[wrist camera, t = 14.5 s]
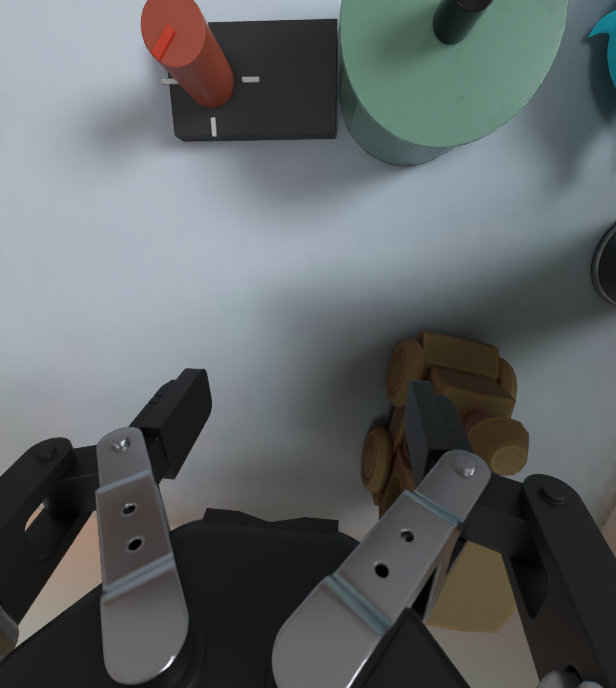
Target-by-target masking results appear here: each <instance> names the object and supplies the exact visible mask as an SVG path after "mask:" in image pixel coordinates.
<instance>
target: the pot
mask: <svg viewBox="0 0 616 688" xmlns="http://www.w3.org/2000/svg"><path fill="white" fill-rule="evenodd" d="M339 103H340V106H341V110H342V114H343V118H344V120H345V123H346V125H347V127H348V129H349V131H350V133H351V134H352V136H353V138H354V139H355V140H356V141H357V143H358V144H359V145H360V146H361V147H362V148H363V149H364V150H365V151H366V152H368V153H369V154H370V155H372V156H374V157H375V158H377V159H379V160H381V161H384V162H387V163H391V164H394V165H415V164H423V163H425V162H427V161H429V160H432V159H434V158H436V157H438V156H440V155H442V154H445V153H447V152H448V151H450V150H452V149H453V148H455V147H452V148H442V149H433V148H423V147H418V146H413V145H410V144H407V143H405V142H402V141H400V140H398V139H396V138H394V137H392V136H391V135H389V134H387V133H386V132H385V131H384V130H382V129H381V128H380V127H378V126H377V125H376V124H375V123H374V122H373V121H372V120H371V119H370V118H369V117H368V115H367V114H366V113H365V111H364V110H363V109H362V107H361V106H360V104H359V103H358V101H357V99H356V97H355V95H354V94H353V92H352V89H351V87H350V84H349V82H348V79H347V77H346V73H345V69H344V66H343V62H342V55H341V60H340V67H339Z"/></svg>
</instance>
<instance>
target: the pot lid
mask: <svg viewBox="0 0 616 688" xmlns="http://www.w3.org/2000/svg"><path fill="white" fill-rule="evenodd" d="M568 1H569V0H342V4H341V11H340V26H339V33H340V49H341V55H342V62H343V66H344V69H345V73H346V77H347V79H348V82H349V84H350V87H351V89H352V92H353V94H354V95H355V97H356V99H357V101H358V103H359V104H360V106H361V107H362V109H363V110H364V111H365V113H366V114H367V115H368V117H369V118H370V119H371V120H372V121H373V122H374V123H375V124H376V125H377V126H378V127H380V128H381V129H382V130H384V131H385V132H386V133H387V134H389V135H391V136H392V137H394V138H396V139H398V140H400V141H402V142H405V143H407V144H410V145H413V146H418V147H423V148H433V149H442V148H452V147H457V146H461V145H465V144H468V143H471V142H473V141H476V140H479V139H480V138H482V137H484V136H486V135H488V134H490V133H492V132H494V131H495V130H497V129H498V128H499V127H501V126H502V125H504V124H505V123H507V122H508V121H509V120H510V119H511V118H512V117H513V116H515V115H516V114H517V113H518V112H519V111H520V110H521V109H522V108H523V107H524V106H525V104H526V103H527V102H528V101H529V100H530V99H531V98H532V96H533V95H534V93H535V92H536V91H537V89H538V88H539V87H540V85H541V83H542V82H543V80H544V78H545V77H546V75H547V73H548V71H549V69H550V67H551V65H552V63H553V61H554V58H555V56H556V54H557V51H558V48H559V45H560V42H561V39H562V36H563V32H564V27H565V23H566V18H567V10H568Z"/></svg>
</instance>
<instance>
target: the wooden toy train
mask: <svg viewBox="0 0 616 688" xmlns="http://www.w3.org/2000/svg"><path fill="white" fill-rule="evenodd" d="M410 380H421V381H431V383H432V386H433V389H434V391H435V394H436V395H446V396H447V397H448V398H449V399H450V400H451V401H452V402H453V403H454V404H455V407H456V409H457V412H458V416H459V417H460V419H461V422H462V424H463V427H464V429H465V432H466V434H467V437H468V439H469V442H470V444H471V447H472V449H473V452H474V454H475V455H477V456H479V457H480V458H482V459H483V460H484V461H485V462H486V463H487V465H488V466H489V468H490V470H491V472H493V473H495V474H497V475H503V476H506V475H514V474H515V473H517V472H519V471H520V470H522V469H523V467H524V466H525V464H526V463H527V456H528V449H529V433H528V432H527V431H526V429H525V428H524V427H523V425H522V424H521V422H519V421H516V420H513V419H511V415H512V412H513V409H514V405H515V402H516V400H515V399H516V393H517V381H516V376H515V373H514V371H513V368H512V367H511V365H510V364H509V363H508V362H507V361H506V360H504V359H503V358H501V357H499V349H498V348H497V347H495V346H494V345H490V344H486V343H481V342H476V341H472V340H467V339H463V338H458V337H453V336H449V335H444V334H439V333H435V332H430V331H425V330H420V333H419V336H418V340H417V341H416V340H415V339H413V338H408V339H405V340H403V341H401V342H400V343H398V345H397V346H396V347H395V349H394V351H393V354H392V356H391V359H390V362H389V366H388V371H387V378H386V393H387V397H388V399H389V400H390V402H391V403H392V404H393V405H394V406H396V408H395V411H394V414H393V417H392V420H391V423H390V426H389V429H388V430H387V429H386V428H384V427H382V426H379V427H375V428H374V429H372V430H371V431H370V432H369V434H368V436H367V439H366V441H365V445H364V449H363V455H362V463H361V476H362V482H363V485H364V486H365V488H366V489H367V490H368V491H370V492H371V493H372V495H373V500H374V505H375V506H379V520H380V519H381V517H382V516H383V515H384V514H385V513H386V511H387V510H388V509H389V508H390V507H391V506H392V504H393V503H394V502H395V501H396V500H397V498H398V497H399V496H400V495H401V494H402V493H403V492H404V491H405V490H406V489H410V490H411V491H414V490H415V489H416V487H415V481H414V476H413V470H412V465H411V459H410V454H409V449H408V443H407V438H406V432H405V425H404V415H405V407H406V400H407V393H408V386H409V382H410ZM516 608H517V605H516V602H515V599H514V595H513V592H512V589H511V585H510V582H509V579H508V575H507V572H506V569H505V566H504V562H503V559H502V556H501V553H498V552H496V551H493V550H491V549H488V548H486V547H483V546H481V545H478V544H475V543H473V542H470V541H469V543H468V545H467V546H466V548H465V550H464V552H463V553H462V555H461V557H460V559H459V560H458V562H457V564H456V566H455V567H454V569H453V571H452V573H451V574H450V576H449V578H448V580H447V581H446V583H445V585H444V587H443V589H442V591H441V593H440V596H439V598H438V600H437V603H436V605H435V607H434V609H433V611H432V613H431V614H430V616H429V618H428V620H427V622H426V623H425V624H426V625H432V626H437V627H442V628H448V629H453V630H459V631H469V632H488V633H497V632H498V631H499V630H500V628H501V627H502V626H503V625H504V624H505V623H506V622H507V620H508V619H509V618H510V617H511V616H512V614H513V613H514V612H515V610H516Z"/></svg>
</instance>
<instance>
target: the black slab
mask: <svg viewBox="0 0 616 688" xmlns="http://www.w3.org/2000/svg"><path fill="white" fill-rule="evenodd" d="M206 22H207V24H208V26H209V28H210V30H211V32H212V33H213V35H214V37H215V39H216V41H217V43H218V45H219V47H220V48H221V50H222V52H223V54H224V56H225V58H226V60H227V62H228V63H229V65H230V67H231V69H232V72H233V77H234V87H233V91H232V94H231V96H230V98H229V99H228V101H227V102H226V103H225V104H223V105H222V106H220V107H217V108H206V107H203V106H201V105H200V104H198V103H197V102H196V101H195V100H194V99H193V98H192V97H191V96H190V95H189V94H188V93H187V92H186V91H185V90H184V89H183V88H182V86H181V85H180V84H179V83H178V82H177V81H176V80H175V79H174V78H173V77H172V76H171V75H170V74H169V73H168V77H169V79H161V84H162V85H166V84H169V86H170V95H171V104H172V113H173V123H174V132H175V136H176V137H177V138H179V139H180V140H182V141H233V140H287V139H334V138H335V134H336V75H337V19H313V20H277V21H241V22H208V20H206Z"/></svg>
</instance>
